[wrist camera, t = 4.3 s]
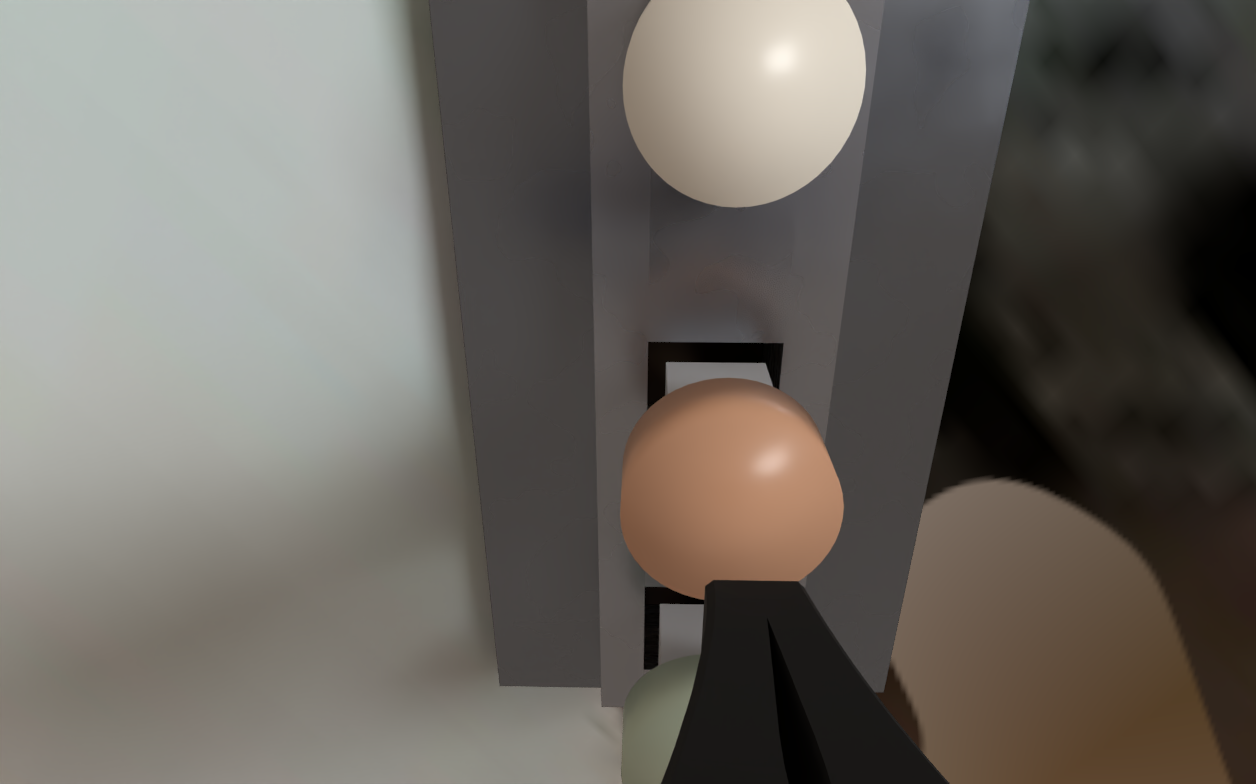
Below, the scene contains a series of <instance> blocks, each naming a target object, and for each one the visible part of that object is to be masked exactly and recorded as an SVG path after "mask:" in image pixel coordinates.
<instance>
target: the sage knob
mask: <svg viewBox="0 0 1256 784" xmlns="http://www.w3.org/2000/svg"><path fill="white" fill-rule="evenodd" d="M703 612H704V605H701V604H660V615H659V654H658V666H657V667H655V668H654V669H652V670H650V671H649V672H647V673H646V674H645V675H644V676H642V677H641V678H640V679H639V680H638V681H637V682H636V683H635V684H634V686H633V687H632V689H631V690H630V691H629V694H628V696H627V698H626V700H625V704H624V710H623V733H622V765H621V777H622V783H623V784H661V782H662V779H663V777H664V774H665V772H666V769H667V766H668V763H669V761H670V758H671V755H672V753H673V750H674V747H675V744H676V741H677V738H678V735H679V731H680V728H681V725H682V722H683V719H684V716H685V713H686V709H687V706H688V703H689V700H690V696H691V693H692V689H693V684H694V680H695V676H696V672H697V668H698V663H699V659H700V655H701V644H702V628H703Z"/></svg>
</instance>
